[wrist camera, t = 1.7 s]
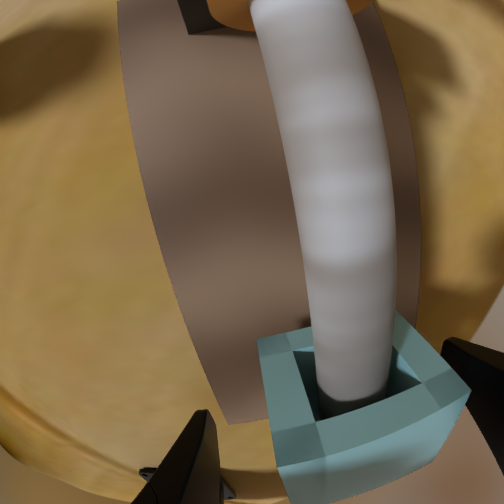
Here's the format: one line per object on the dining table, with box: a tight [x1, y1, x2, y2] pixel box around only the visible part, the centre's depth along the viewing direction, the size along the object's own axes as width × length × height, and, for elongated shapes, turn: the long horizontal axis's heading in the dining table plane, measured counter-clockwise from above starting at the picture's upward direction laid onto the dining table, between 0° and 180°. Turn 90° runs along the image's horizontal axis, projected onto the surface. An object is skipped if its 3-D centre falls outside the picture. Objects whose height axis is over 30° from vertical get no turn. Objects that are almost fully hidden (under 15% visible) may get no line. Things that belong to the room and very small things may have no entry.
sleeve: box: [257, 310, 472, 504], centre depth 7 cm, size 4×5×5 cm
